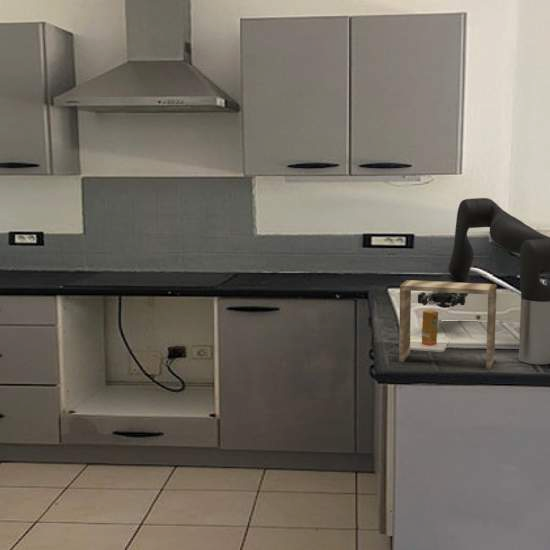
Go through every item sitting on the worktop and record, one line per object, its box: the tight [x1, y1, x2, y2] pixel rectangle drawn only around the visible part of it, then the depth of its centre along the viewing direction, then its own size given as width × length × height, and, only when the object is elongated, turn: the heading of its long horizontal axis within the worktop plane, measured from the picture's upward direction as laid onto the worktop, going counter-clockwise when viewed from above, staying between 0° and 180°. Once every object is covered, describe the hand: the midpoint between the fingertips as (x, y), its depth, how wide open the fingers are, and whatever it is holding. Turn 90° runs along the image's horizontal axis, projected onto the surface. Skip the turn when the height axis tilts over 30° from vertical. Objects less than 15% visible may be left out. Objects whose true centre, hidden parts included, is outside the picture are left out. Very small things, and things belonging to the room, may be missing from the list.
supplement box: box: [421, 309, 439, 346], centre depth 243 cm, size 3×3×10 cm
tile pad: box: [410, 342, 449, 353], centre depth 244 cm, size 11×11×1 cm
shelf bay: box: [398, 279, 498, 370], centre depth 225 cm, size 24×9×21 cm, turn 70°
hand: (438, 302), depth 251 cm, fingers open, 8 cm apart
